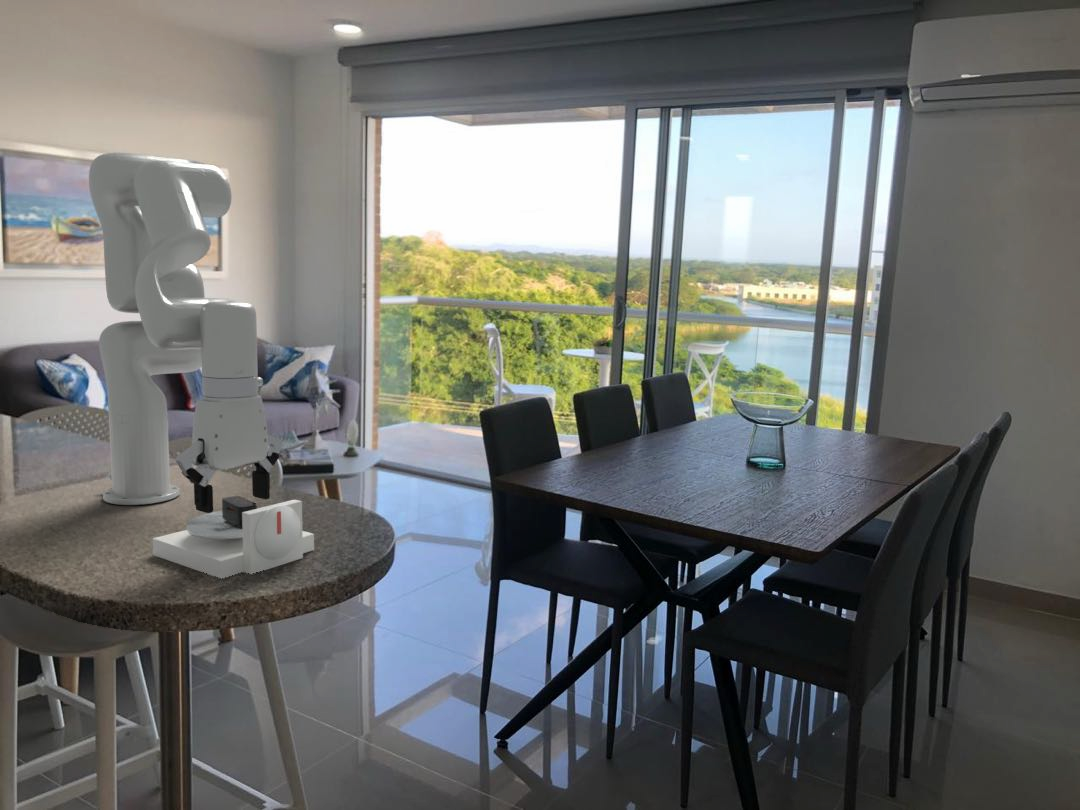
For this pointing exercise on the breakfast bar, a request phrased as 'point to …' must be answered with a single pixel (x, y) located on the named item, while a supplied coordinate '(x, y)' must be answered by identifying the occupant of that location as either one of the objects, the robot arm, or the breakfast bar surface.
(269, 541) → the kitchen scale
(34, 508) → the breakfast bar surface
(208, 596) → the breakfast bar surface
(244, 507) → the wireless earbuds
